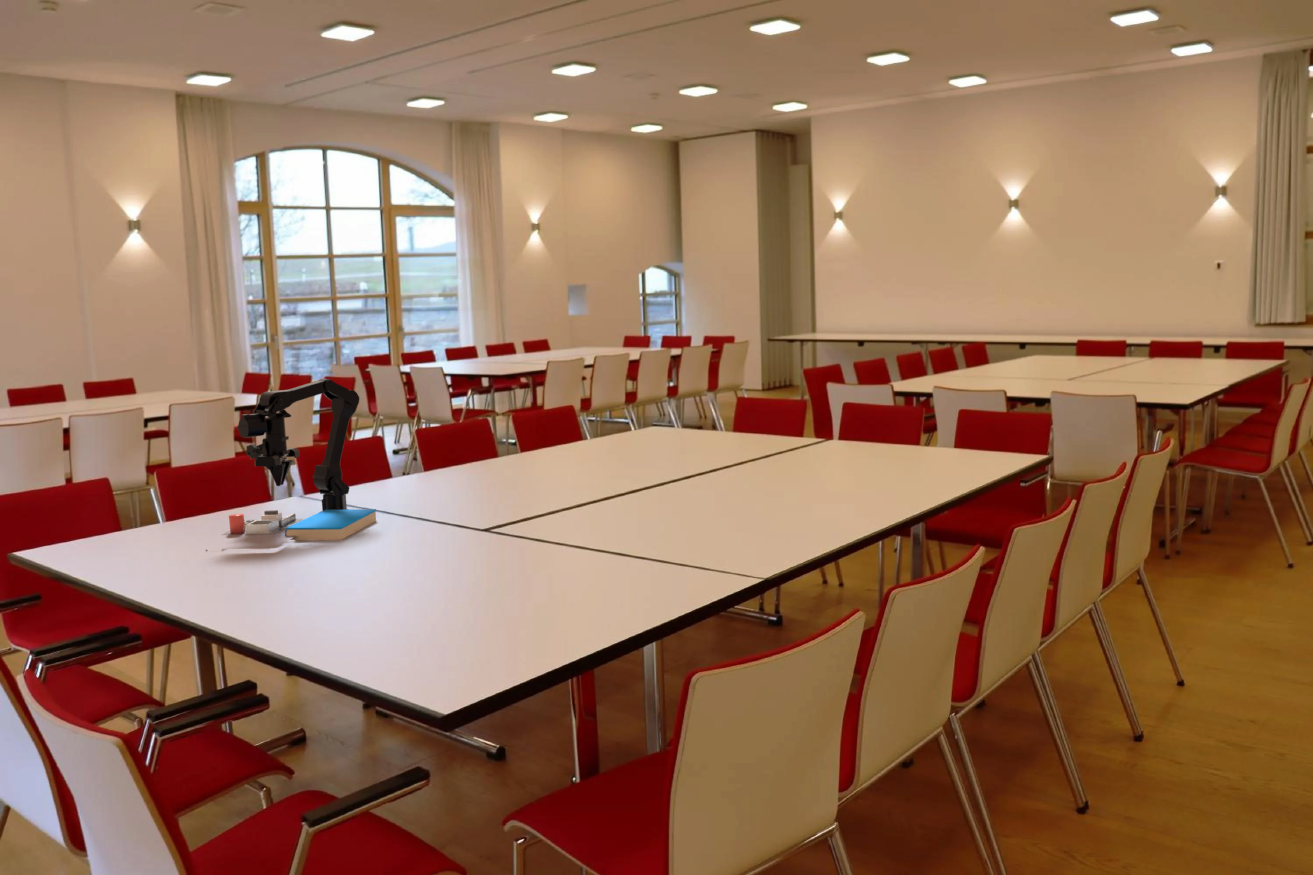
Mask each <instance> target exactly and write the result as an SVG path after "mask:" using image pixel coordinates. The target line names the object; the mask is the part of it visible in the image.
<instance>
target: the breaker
mask: <svg viewBox="0 0 1313 875" xmlns="http://www.w3.org/2000/svg"><path fill="white" fill-rule="evenodd" d="M282 518H283V512H279V510H276V509H275V510H272V509H271V510H265V511H264V514H262V515H260V519H261V520H280V519H282Z"/></svg>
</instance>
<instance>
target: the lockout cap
mask: <svg viewBox="0 0 1313 875" xmlns="http://www.w3.org/2000/svg"><path fill="white" fill-rule="evenodd" d="M244 516H245V514H244V513H234V514H233V513H232V514H229V515H228V521H229V522H228V523H229V531H230V533H231V534H238V533H243V532H245V523H244V522H245V517H244Z"/></svg>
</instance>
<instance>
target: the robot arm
mask: <svg viewBox="0 0 1313 875" xmlns="http://www.w3.org/2000/svg"><path fill="white" fill-rule="evenodd" d="M322 394H323V395H324V396H325V398H327V399H328V400H329V401H331V405H330V406H331V412H332V415H333V418H332V421H331V427H330V432H329V436H328V441H327V444H326V450H325V454H324V458H323V461H322V462H321V464H316V465H315V466H314V473H313V475H312V478H313V484H314V486H315V488H316V489H318V492H319V494H320V495H322V499H321V508H322V510H321V511H323V510H350V509H349V508H348V507H347V495H349V492H350V486H349V485H348V484H346V483H345V482H344V481H343V478H342V477H343V471H342V468H341V460H342V455H343V450H344V447H345V446H344V445H345V442H346V437H347V432H348V428H349V423H350V420H351V418H352V417H353V415H354V414H355V413H356V412H357V409H358V405H359V404H360V395H359V394H358V393H357V391H355V390H353V389H348V388H347V387H345V386H343V385H341V384H339V383H336V382H335V381H333V379H330V378H320V379H318V380H316V381H312V382H310V383H305V384H303V385H302V384H301V385H299V386H296V387H293V388H289V389H284V390H283V389H282V390H281V389H280V390H270V391H264V392H262V393H261V394H260V397H259V400H258V401H259V402H258V403H257V405H256V407H255V409H254V410H253V412H252V413H250V414H244V413H243V414H241V415H240V417H241V419H240V420H238V424H237V429H238V430H237V431H238V433H239V436H240V437H241V438H243V439H247V438H256V437H261V436H264V435H265V437H263V438H262V443H261V444H257V445H256V444H254V443H252V444H249V445H246V449H245V456H249V458H250V460H253V459H254V461H253V462H254V467H265V468H266V469H267V470H269V472H270V473H271V476H272V478H273V480H274V482H275V485H276V487H281V486H283V485H284V484H285V481H286V478H287V476H288V473H289V470H290V468H291V465H292V464H293V462H294V460H293V459H289V458H294V459H297V458H299V457H301V456H300V455H301V454H300V449H298V448H297V447H288V444H287V441H288V440H289V435H287V432H286V422H285V419H286V418H292V414H290V413H289V412H288V411H286V409H288V408H290V407H291V406H292V405H293V404H294V403H297V402H299V401H302V400H305V399H309V398H312V397H315V396H319V395H322Z"/></svg>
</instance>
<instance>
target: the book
mask: <svg viewBox="0 0 1313 875" xmlns="http://www.w3.org/2000/svg"><path fill="white" fill-rule="evenodd" d="M376 512H377V509H376V508H373V509H372V508H370V509H368V508H367V509H363V508H362V509H360V508H359V509H353V508H352V509H349V510H323V511H322V510H321V511H319V512H318V513H315V514H312V515H311V516H309V517H306V518H303V519H302V520H301V521H299V522H297V523H295V524H293V525H291V526H289V527H287V528H286V529H285V531H284V533H285V534H284V536H286V537H289V536H292V538H290V539H289V541H309V540H310V541H311V540H313V541H315V540H316V541H318V540H320V541H323V540H324V541H326V540H328V541H329V540H331V541H333V540H334V541H335V540H339V541H341V540H344V539H345V538H347V537H348V536H350V535H352V534H355V533H356V532H358V531H360V530H361V529H364V528H366V527H367V526H369V525H371V524H373V523H375V522H377V515H376V514H377V513H376ZM293 536H294V537H293Z"/></svg>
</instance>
